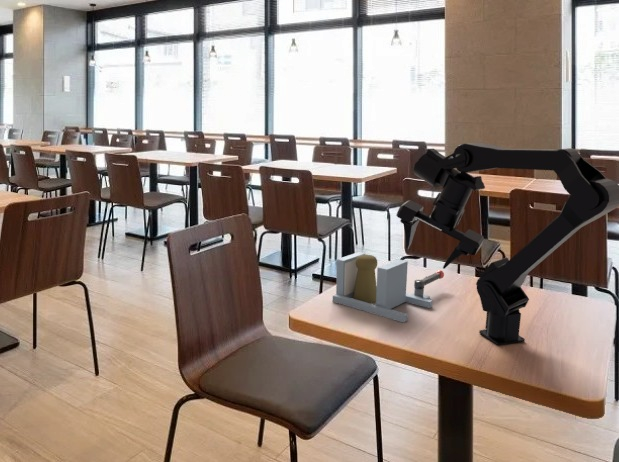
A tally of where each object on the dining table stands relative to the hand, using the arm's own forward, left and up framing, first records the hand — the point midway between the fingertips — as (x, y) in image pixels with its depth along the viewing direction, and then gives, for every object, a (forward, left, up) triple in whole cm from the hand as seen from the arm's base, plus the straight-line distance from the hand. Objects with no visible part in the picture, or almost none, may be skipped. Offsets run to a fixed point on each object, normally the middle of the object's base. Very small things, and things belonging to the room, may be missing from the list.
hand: (425, 258), depth 121 cm
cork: (+10, +10, -13) cm, 19 cm away
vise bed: (+8, +5, -12) cm, 16 cm away
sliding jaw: (+4, +6, -12) cm, 14 cm away
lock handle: (+10, -7, -10) cm, 16 cm away
